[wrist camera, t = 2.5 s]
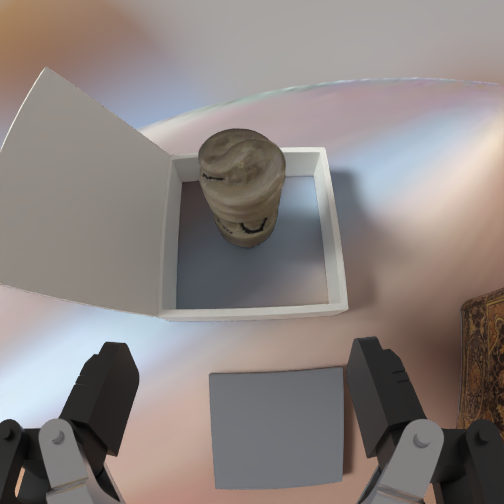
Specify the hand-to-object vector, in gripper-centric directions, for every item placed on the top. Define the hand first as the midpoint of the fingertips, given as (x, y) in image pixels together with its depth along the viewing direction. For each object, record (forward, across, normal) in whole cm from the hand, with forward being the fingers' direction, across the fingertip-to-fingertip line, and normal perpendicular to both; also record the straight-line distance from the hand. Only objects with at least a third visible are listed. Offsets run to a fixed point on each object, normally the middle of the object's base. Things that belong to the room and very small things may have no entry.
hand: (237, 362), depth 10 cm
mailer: (+20, +4, +5) cm, 21 cm away
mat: (+7, -2, +18) cm, 20 cm away
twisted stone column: (+21, 0, +5) cm, 21 cm away
